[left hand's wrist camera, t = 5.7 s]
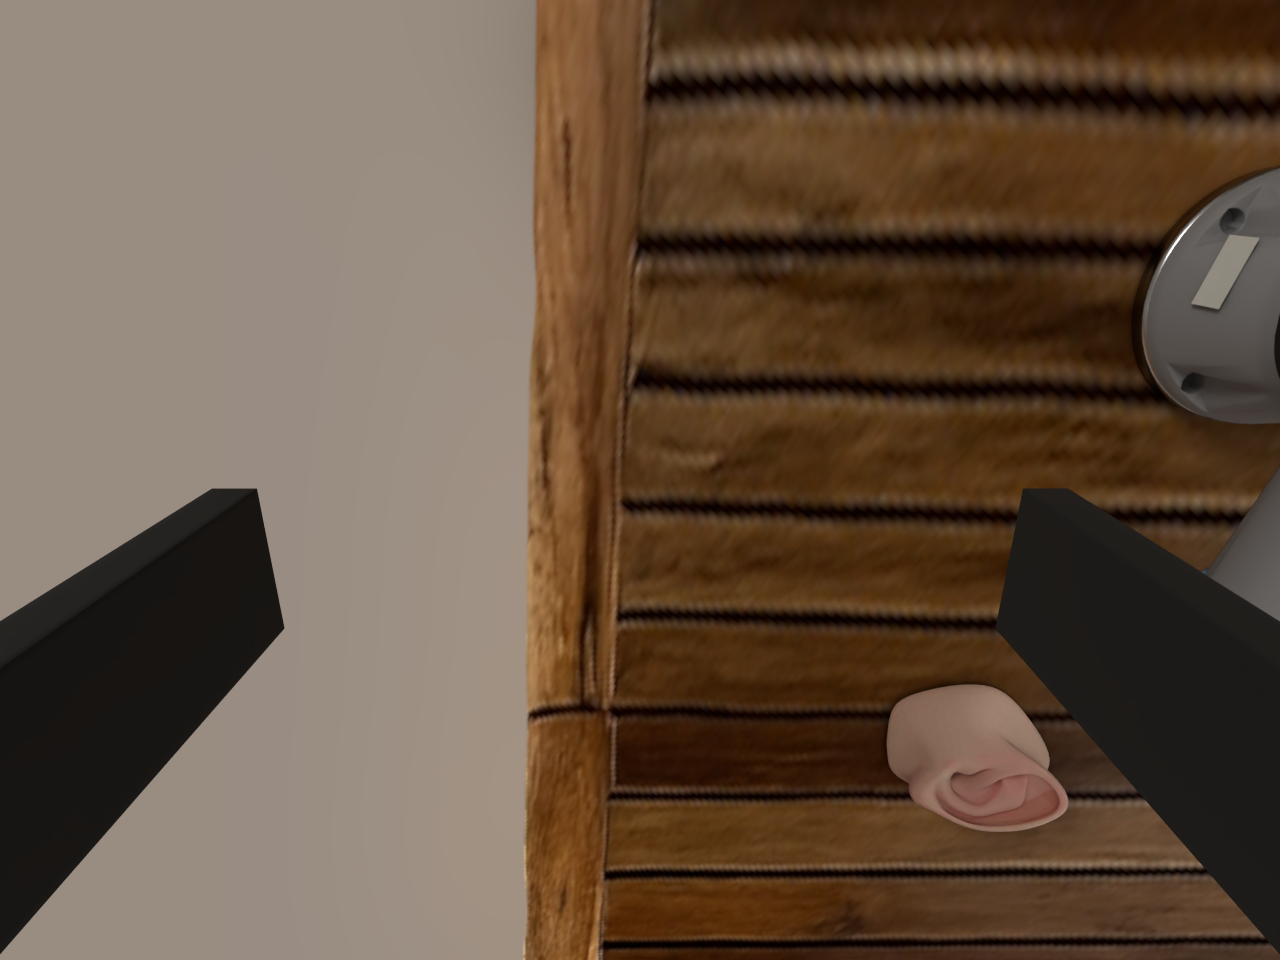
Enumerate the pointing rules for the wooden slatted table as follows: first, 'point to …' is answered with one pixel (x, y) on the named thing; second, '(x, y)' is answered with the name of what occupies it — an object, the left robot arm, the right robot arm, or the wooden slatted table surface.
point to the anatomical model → (974, 759)
